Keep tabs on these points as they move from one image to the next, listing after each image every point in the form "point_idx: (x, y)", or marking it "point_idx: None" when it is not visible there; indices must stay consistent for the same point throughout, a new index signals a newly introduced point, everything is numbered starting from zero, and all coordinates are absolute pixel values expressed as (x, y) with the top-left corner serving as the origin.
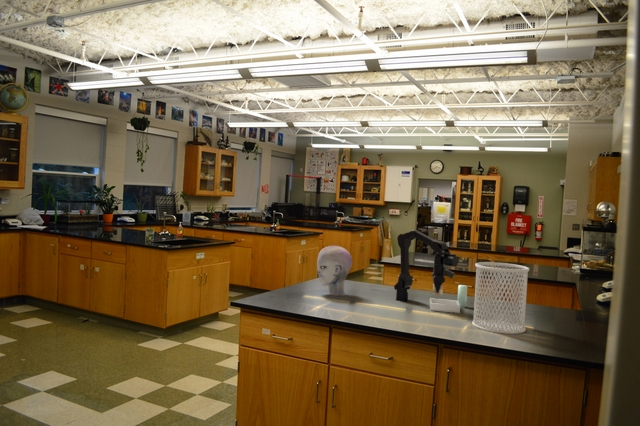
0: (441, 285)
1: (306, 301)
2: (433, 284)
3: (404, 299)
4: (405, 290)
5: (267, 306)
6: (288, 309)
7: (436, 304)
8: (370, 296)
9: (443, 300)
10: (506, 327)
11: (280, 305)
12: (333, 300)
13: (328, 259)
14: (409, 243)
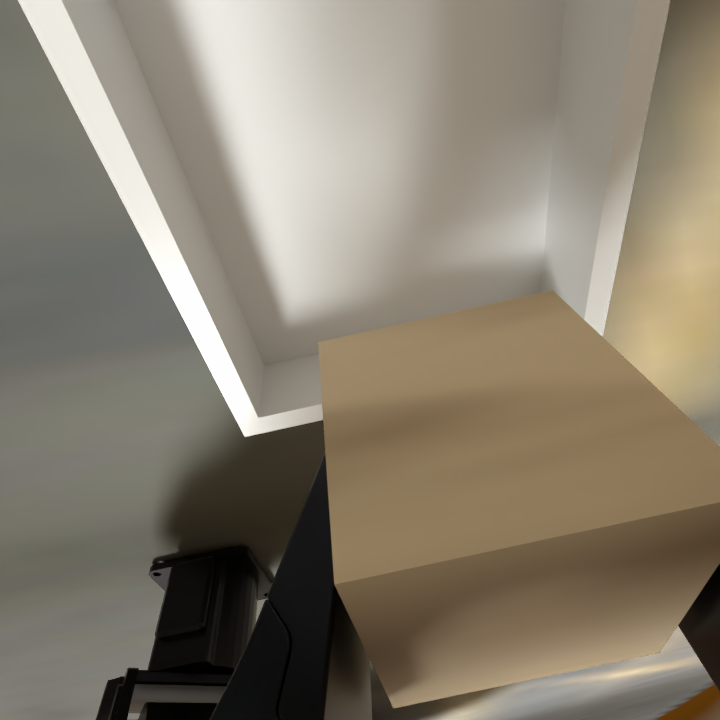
0: (615, 550)
1: (543, 708)
2: (510, 682)
3: (237, 568)
4: (217, 664)
5: (654, 712)
6: (688, 687)
7: (606, 279)
8: None
9: (180, 236)
10: None
11: (632, 708)
12: (482, 691)
13: None
14: None
